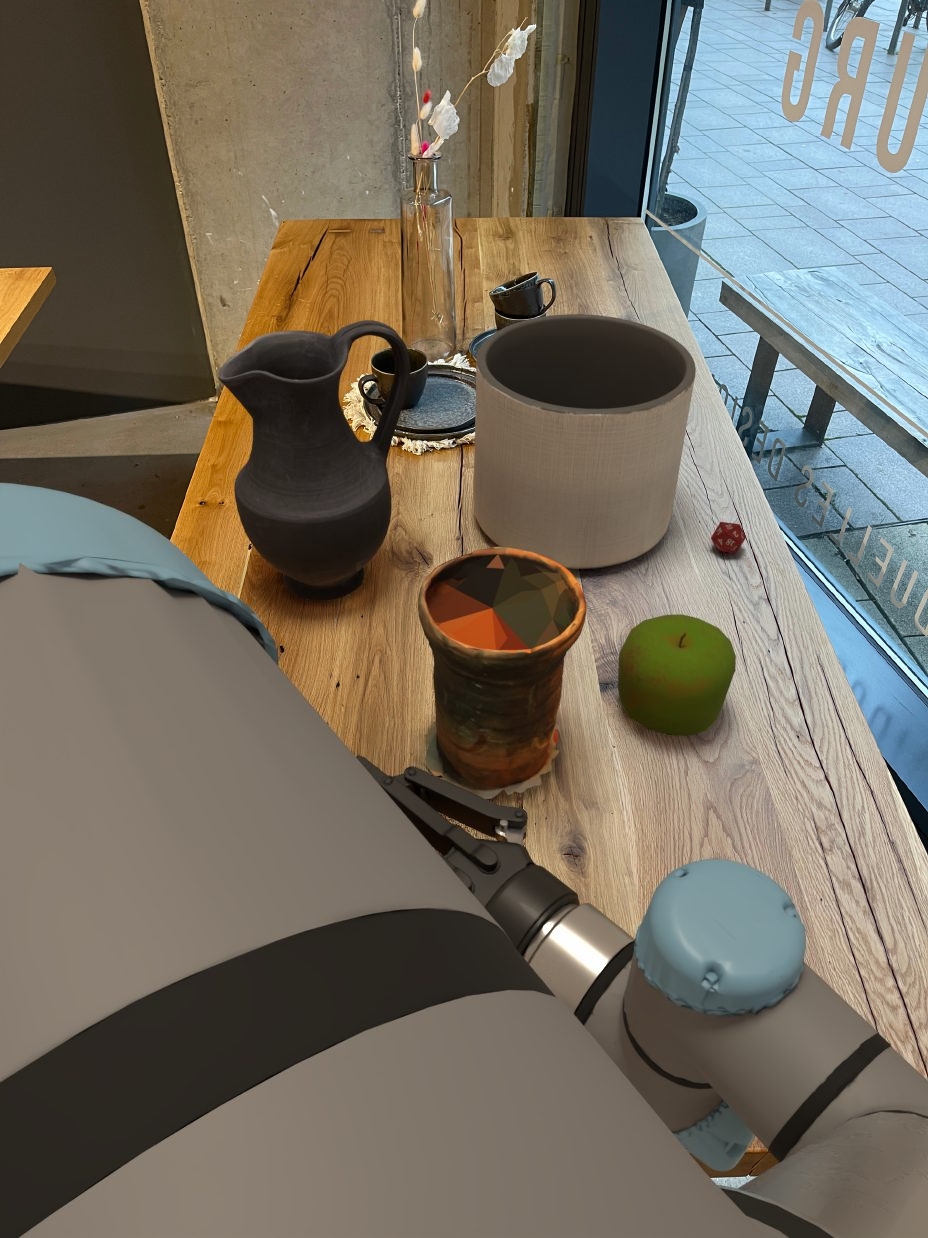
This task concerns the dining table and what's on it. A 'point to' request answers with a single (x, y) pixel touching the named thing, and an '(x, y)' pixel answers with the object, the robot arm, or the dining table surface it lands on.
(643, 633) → the apple
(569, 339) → the planter
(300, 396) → the pitcher
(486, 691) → the vessel
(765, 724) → the dining table surface
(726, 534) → the dice
